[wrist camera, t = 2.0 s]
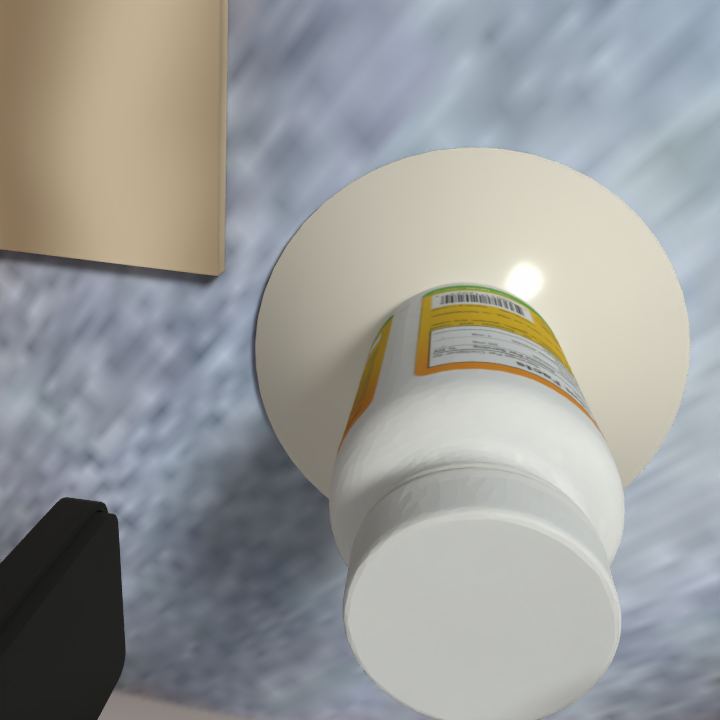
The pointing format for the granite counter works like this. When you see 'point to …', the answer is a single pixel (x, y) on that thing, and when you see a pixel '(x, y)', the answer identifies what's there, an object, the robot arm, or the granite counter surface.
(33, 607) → the robot arm
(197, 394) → the granite counter surface
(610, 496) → the supplement bottle
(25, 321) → the granite counter surface
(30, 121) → the wooden mat
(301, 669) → the granite counter surface
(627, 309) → the coaster
